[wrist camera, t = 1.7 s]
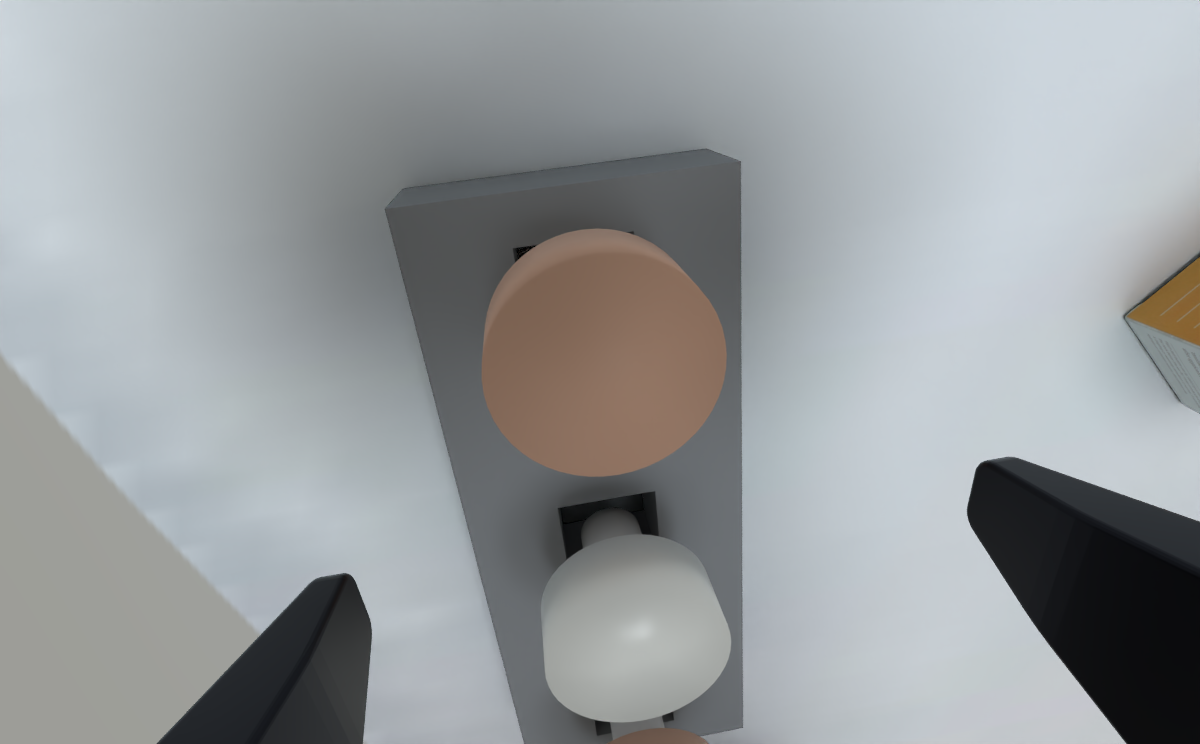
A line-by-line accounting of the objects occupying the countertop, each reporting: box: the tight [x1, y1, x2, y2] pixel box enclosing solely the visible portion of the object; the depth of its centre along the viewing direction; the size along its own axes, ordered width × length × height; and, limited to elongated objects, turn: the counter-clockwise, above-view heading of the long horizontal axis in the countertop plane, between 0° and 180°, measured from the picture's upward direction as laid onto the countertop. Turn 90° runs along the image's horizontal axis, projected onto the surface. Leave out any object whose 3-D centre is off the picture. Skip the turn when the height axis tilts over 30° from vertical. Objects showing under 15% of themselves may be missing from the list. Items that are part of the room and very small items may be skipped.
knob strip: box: [385, 149, 743, 744], centre depth 22 cm, size 23×9×3 cm, turn 6°
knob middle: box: [541, 508, 731, 722], centre depth 18 cm, size 5×5×5 cm
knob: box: [482, 228, 727, 477], centre depth 15 cm, size 5×5×5 cm
